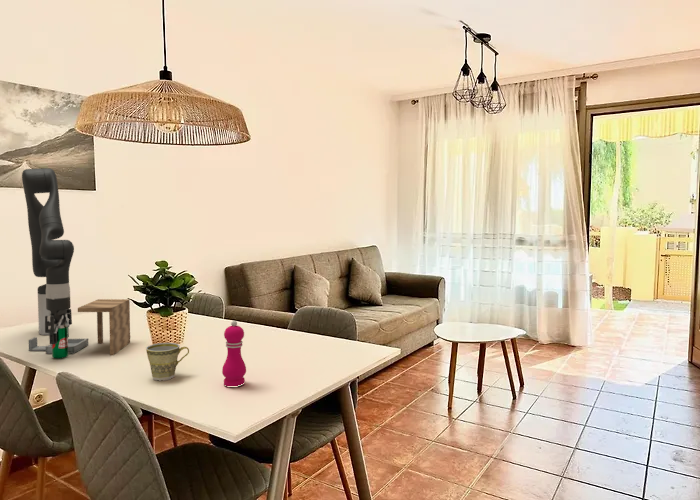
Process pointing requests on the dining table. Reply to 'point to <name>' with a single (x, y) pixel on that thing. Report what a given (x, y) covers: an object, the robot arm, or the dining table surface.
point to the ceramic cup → (164, 359)
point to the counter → (112, 321)
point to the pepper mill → (234, 356)
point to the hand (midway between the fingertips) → (59, 340)
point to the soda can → (61, 343)
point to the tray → (73, 345)
